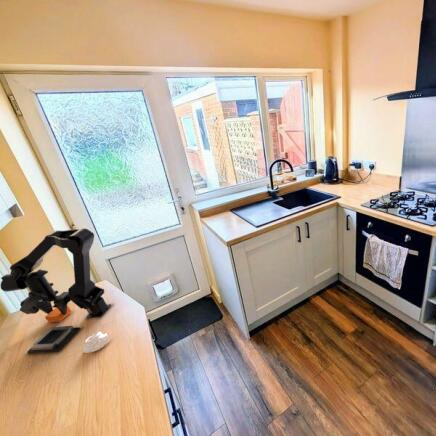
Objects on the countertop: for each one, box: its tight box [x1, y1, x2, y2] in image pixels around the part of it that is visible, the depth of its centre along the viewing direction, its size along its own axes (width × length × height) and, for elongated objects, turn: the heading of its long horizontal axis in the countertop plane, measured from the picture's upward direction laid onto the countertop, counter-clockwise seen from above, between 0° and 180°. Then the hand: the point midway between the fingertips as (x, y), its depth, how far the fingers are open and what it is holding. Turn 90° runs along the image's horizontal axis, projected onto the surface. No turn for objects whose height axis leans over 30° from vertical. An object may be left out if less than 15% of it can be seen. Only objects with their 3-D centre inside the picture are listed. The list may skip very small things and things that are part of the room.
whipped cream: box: [82, 331, 110, 354], centre depth 89 cm, size 8×7×5 cm
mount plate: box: [26, 325, 81, 355], centre depth 93 cm, size 12×10×2 cm
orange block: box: [44, 305, 72, 323], centre depth 104 cm, size 6×6×3 cm
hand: (58, 314), depth 104 cm, fingers closed on orange block, 5 cm apart
